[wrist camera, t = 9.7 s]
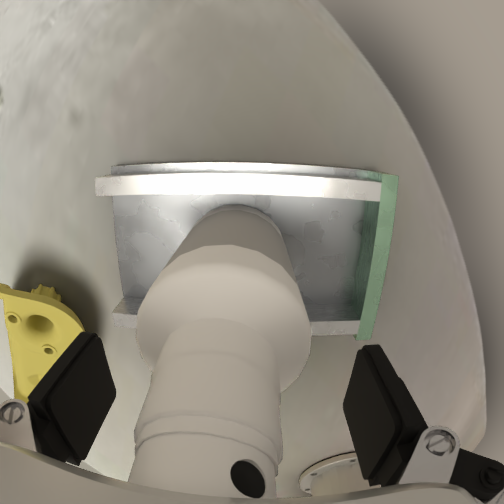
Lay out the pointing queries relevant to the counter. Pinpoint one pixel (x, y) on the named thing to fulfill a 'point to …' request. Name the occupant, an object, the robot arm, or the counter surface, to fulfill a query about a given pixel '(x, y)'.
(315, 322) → the rail cradle
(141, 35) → the counter surface
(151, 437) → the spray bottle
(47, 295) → the plastic component
